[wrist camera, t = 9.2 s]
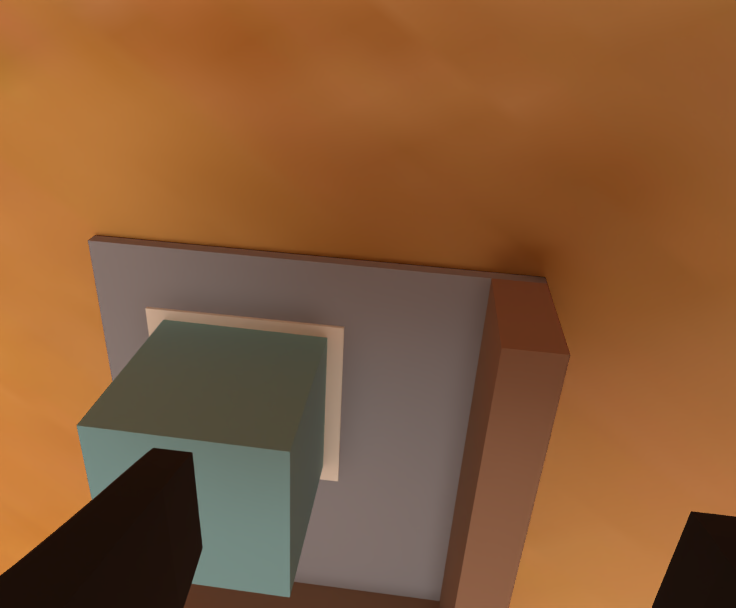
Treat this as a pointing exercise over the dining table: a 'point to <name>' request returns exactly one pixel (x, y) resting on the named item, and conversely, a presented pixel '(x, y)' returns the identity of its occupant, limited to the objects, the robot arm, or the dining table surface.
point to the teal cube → (224, 440)
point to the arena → (379, 408)
